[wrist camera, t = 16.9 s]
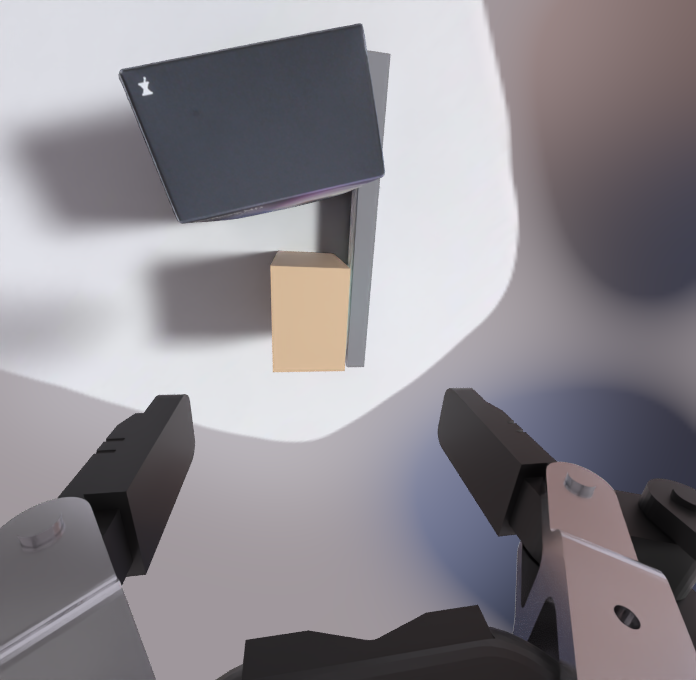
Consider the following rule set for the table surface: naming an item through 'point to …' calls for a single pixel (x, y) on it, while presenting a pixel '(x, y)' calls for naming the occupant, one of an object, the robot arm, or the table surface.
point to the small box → (260, 124)
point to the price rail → (364, 229)
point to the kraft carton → (309, 311)
